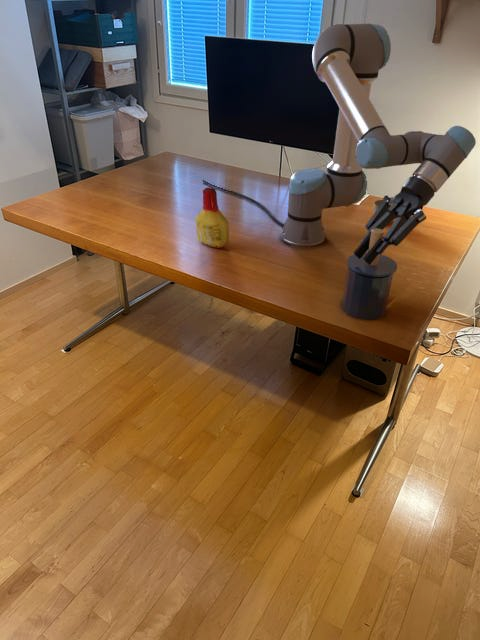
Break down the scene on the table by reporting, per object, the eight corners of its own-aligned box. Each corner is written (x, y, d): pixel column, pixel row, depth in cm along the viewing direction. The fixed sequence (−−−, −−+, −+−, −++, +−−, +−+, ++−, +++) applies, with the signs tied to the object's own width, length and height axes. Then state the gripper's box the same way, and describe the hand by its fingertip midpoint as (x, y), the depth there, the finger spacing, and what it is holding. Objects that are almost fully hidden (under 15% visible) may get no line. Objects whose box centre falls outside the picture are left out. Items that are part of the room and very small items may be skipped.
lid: (336, 268, 125) (341, 231, 119) (361, 252, 133) (367, 216, 127) (381, 284, 118) (389, 246, 112) (405, 266, 126) (413, 230, 120)
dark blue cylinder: (334, 308, 132) (339, 268, 125) (355, 292, 139) (362, 253, 132) (372, 324, 125) (380, 283, 118) (392, 307, 133) (401, 267, 126)
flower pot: (398, 228, 178) (402, 209, 174) (371, 225, 180) (374, 207, 176) (396, 218, 186) (400, 200, 182) (370, 216, 188) (373, 198, 184)
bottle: (192, 244, 165) (190, 187, 154) (203, 237, 170) (201, 181, 159) (222, 252, 160) (221, 193, 149) (232, 245, 165) (232, 188, 154)
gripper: (454, 203, 116) (389, 279, 118) (405, 184, 127) (347, 253, 130) (443, 184, 111) (376, 264, 113) (394, 166, 122) (334, 239, 125)
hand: (361, 258), depth 122 cm, fingers closed on lid, 3 cm apart
